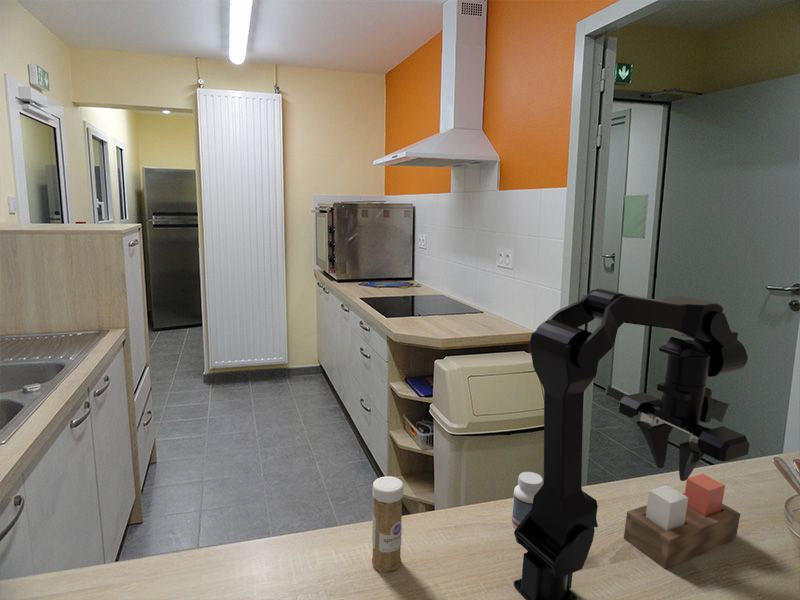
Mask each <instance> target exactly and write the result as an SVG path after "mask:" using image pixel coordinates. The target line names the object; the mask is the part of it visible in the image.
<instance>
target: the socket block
mask: <svg viewBox="0 0 800 600" xmlns="http://www.w3.org/2000/svg"><path fill="white" fill-rule="evenodd" d="M682 494H683V495H685V492H683V493H682ZM646 510H647V504H646V505H642V506H640V507H637V508H635V509H630V510H628V511H627V510H626V518H625V525H624V532H623V539H624V540H625V541H626V542H628V543H629V544H631V545H632V546H633V547H635V548H636V549H637V550H639V551H640V553H643V554H644V555H646V556H647V557H648V558H650V560H652V561H654V562H655V563H657V564H658V565H659V566H660V567H662V568H663V569H665V570H666V569H669V568H671V567H674V566H676V565H678V564H681V563H684V562H686V561H689V560H690V559H694V558H696V557H699V556H701V555H703V554H706V553H708V552H711V551H714V550H715V549H718V548H721V547H724V546H725V545H728V544H730V543H733V542H735V541H737V535H738V530H739V523H740V518H741V513H740V512H738V510H735V509H733V508H731V507H729V506H728V505H726V504H724V503H722V507H721V512H720V513H717V514H714V515H711V516H709V517H704V516H702V515H701V514H699V513H697V512H696V511H694V510H692V509H691V508H689V507H687V510H686V516H685V523H684V526H681V527H678V528H676V529H673V530H670V531H666V530H665V529H663V528H662V527H660V526H659V525H657V524H656V523H654V522H653V521H651V520H650V519H648V518H647V517H646Z"/></svg>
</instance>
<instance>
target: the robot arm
mask: <svg viewBox="0 0 800 600" xmlns="http://www.w3.org/2000/svg"><path fill="white" fill-rule="evenodd" d="M595 319H597V320H601V323H600V325H599V326H598V327H597V328H596V329H595V330H594V331H593V332H592V331H588V330H586V329H583V328H579V327H582V326H583V325H586V324H589V323H591V322H593V321H594V320H595ZM623 324H629V325H630V324H631V325H638V326H646V327H654V328H661V329H663V330H665V331H667V332H670V333H674V334H677V335H679V336H682V337H686V338H689V339H681V338H678V337H673V336H671V337H670V338H669V339H668V340H667V341H666V342H663V343H662V344H661V345H660V346H659V347H658V351H659V352H661V353H664V354H667V355H666V361H665V370H664V377H663V382H659V383H657V386H656V387H657V388H656V391H658V392H661V399H660V398H657V397H655V396H652V395H650V394H649V393H646V392H644V391H643V392H638V393H637V392H636V393H633V394H628V395H624V396H623V397H621V399H620V400H619V404H618V413H620V414H622V415H624V416H626V417H628V418H630V419H633V418H636V417H637V416H639V414H640V419H639V420H638V421H636V426H637V427H639V428H640V430H641V433H642V434H643V436H644V438H645V441H646V443H647V446H648V447H649V450H650V453H651V456H652V458H653V460H654V463H655V465H656V468H658V469H663V468H664V466H665V463H666V459H667V454H668V445H669V438H670V434H671V432H672V430H673V428H675V429H676V430H678V431H681V432H683V433H685V434H687V435H689V440H688V441H685V442H682V443H679V445H678V446H679V448H678V475H679V480H680V481H681V482H685V481H687V479H688V478H690V475H692V473H693V471H694V469H695V468H696V466H697V465H698V463H699V462H700V461H701V459H703V457H704V455H707V456H709V457H710V458H712V459H715V460H716V461H719V462H728V461H731V460H734V459H735V460H736V459H738V458H741V457H745V456H747V455H749V450H750V441H749V439H748V437H747V436H746V434H743V433H741V432H738V431H736V430H734V429H731V428H728V427H726V426H723V425H722V426H717V427H715V428H711V427H706V426H703V425H701V423H702V422H703V423H705V424H706V423H711V421H712V419H713V420H715V421H718V422H719V423H723V421H724V418H725V416H726V413H727V410H728V408H729V405H730V403H727V402H726V401H723V400H721V399H718V398H714V397H712V389H711V388H709V387H707V382H708V378H709V377H710V378H711V377H712V378H713V377H717V376H721V375H727V374H732V373H737V372H738V371H741V370H742V369H744V367H745V366H746V365H747V362H748V359H749V357H748V356H749V355H748V353H747V350H746V348H745V346H744V345H743V343H742V342H741V341H740V340H739V339H738V336H739V333H738V331H734V330H731V328H730V325H729V322H728V320H727V316H726V315H725V313H724V308H723V306H722V305H721V304H719V303H716V302H713V301H711V302H710V301H707V300H703V299H699V298H698V299H697V298H693V297H688V296H683V295H673V296H672V295H671V296H666V297H664V298H663V299H654V298H649V297H644V296H637V295H632V294H627V293H626V294H625V293H623V292H617V291H613V290H609V289H605V288H596V289H592V290H590V291H589V292H587V294H585V295H584V296H583V297H582V298H581V299H580V300H578V301H576V302H573V303H571V304H569V305H567V306H565V307H562V308H560V309H558V310H556V311H555V312H554V313H553V314H552V315H550V317H548V318H547V319H546V320H545V321H543V322H542V323H541V324H539V326H537V328H536V330H535V331H533V332H532V333H531V336H530V340H529V343H530V344H529V349H530V355H531V356H530V357H531V361H532V367H533V370H534V371H535V373H536V375H537V377H538V380H539V381H540V384H541V385H542V388H543V395H544V396H543V401H544V402H543V485H542V486H541V488H540V489H539V490H538V491H537V493H536V494H535V495H534V498H533V504H532V509H531V510H530V511H529V513H528V514H527V515H526V517H525V518H524V519H523V521H522V522H521V523H520V524H519V526H518V527H517V528H515V530H514V532H513V533H514V534H513V535H514V537H515V541H516V543H517V544H518V545H520V546H522V548H524V549H525V550H526V551H527V552H525V553H523V557H522V559H523V560H522V571H521V578H520V579H516V580H514V581H513V587H514V588H515V589H516V590H517V591H518V592H519V594H521V595H522V596H523V597H524V598H525V600H578V597H577V595H576V594H575V593H573V592H572V591H571V590H570V589H572V584H573V583H572V582H573V574H574V573H577V572H578V571H581V570H583V568H584V566H585V563H586V561H587V557H588V555H589V552H590V550H591V547H592V544H593V541H594V538H595V528H598V527H599V524H598V521H597V513H598V509H599V508H598V505H599V504H598V500H596V499H595V498H594V497H592V496H591V495H589V494H588V493H586V492H585V491H583V487H582V481H583V480H582V476H583V471H582V470H583V468H582V467H583V437H584V436H583V433H584V432H583V430H584V427H583V426H584V423H583V422H584V395H585V391H586V389H587V388H588V387H589V386H590V385H591V383H592V382H593V381H594V379H595V378H596V376H597V373H598V367H599V361H601V360H602V358H604V357H605V356H606V355H607V354H608V353H609V351H610V350H612V349H613V347H614V346H615V342H616V338H617V335H618V330H619V328H620V327H621V326H623ZM692 339H693V340H692Z"/></svg>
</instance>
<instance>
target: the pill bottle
mask: <svg viewBox="0 0 800 600" xmlns="http://www.w3.org/2000/svg"><path fill="white" fill-rule="evenodd" d="M517 483H518V484H517V485H516V486H515V487H514V490H513V503H512V512H511V513H512V514H511V521H510V522H511V525H512V526H513V528H514V529H516V528H517V527H518V526H519V524H520V523H521V522H522V521H523V519H524V518H525V517H526V515H527V514H528V513H529V511H530V510H531V509H532V504H533V498H534V495H535V494H536V493H537V491H538V490H539V489H540V488H541V486H542V485H543V484H544V478H543V476H541V475H540V474H539V473H536V472H532V471H523V472H521V473H520V474H519V475H518V479H517Z"/></svg>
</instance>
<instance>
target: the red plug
mask: <svg viewBox="0 0 800 600" xmlns="http://www.w3.org/2000/svg"><path fill="white" fill-rule="evenodd" d="M725 487H726V485H725V484H723V483H721V482H719V481H718V480H716V479H714V478H712V477H710V476H708V475H706V474H704V473H701V474H697V475H694V476H691V477H690V476H689V477H688V479H687V480H686V484H685V490H684V493H685V496H686V497H688V503H687V507H689V508H691V509H692V510H694V511H696V512H697V513H699V514H701V515H702V516H704V517H709V516H711V515H714V514H717V513H720V512H721V507H722V504H723V500H724V495H725V489H726V488H725Z"/></svg>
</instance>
